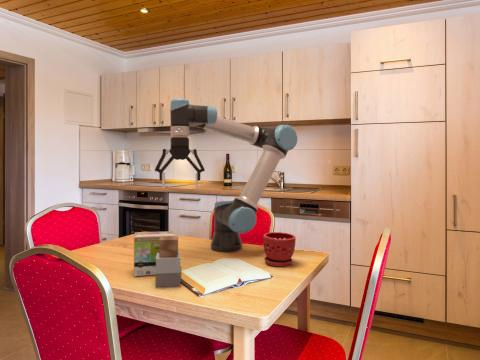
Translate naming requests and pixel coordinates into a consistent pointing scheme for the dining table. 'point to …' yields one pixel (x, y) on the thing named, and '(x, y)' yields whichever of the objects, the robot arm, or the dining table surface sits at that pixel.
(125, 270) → the dining table surface
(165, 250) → the walnut cube
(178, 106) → the robot arm
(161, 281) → the dark grey block
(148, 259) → the tea box
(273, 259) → the plant pot
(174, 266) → the grey square block
